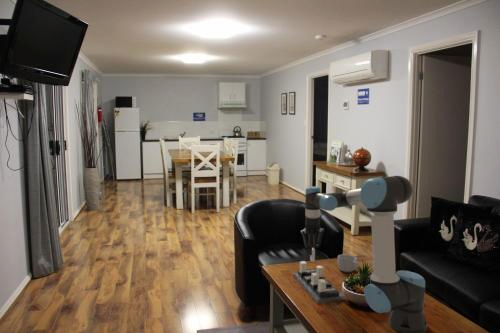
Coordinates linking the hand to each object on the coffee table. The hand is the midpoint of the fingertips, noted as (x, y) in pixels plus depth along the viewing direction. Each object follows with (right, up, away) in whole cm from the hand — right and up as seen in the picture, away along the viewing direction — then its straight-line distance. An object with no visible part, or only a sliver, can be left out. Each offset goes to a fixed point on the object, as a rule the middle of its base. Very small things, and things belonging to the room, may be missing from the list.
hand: (312, 260), depth 208 cm
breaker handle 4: (+2, -11, -14) cm, 18 cm away
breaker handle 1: (-4, -8, +9) cm, 12 cm away
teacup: (+24, -11, +20) cm, 33 cm away
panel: (+2, -14, -1) cm, 14 cm away
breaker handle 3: (+4, -9, +3) cm, 10 cm away
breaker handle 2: (0, -10, -6) cm, 12 cm away
